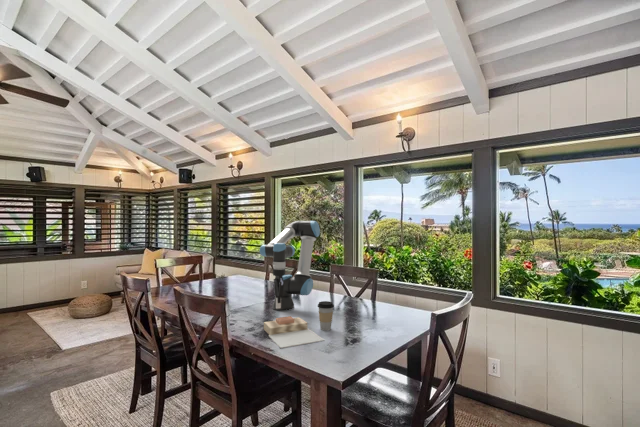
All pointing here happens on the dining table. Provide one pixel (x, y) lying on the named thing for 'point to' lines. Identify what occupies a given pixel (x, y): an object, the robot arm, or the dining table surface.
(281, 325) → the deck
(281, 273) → the robot arm
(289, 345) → the mat
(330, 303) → the coffee cup
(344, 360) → the dining table surface
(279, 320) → the tile
